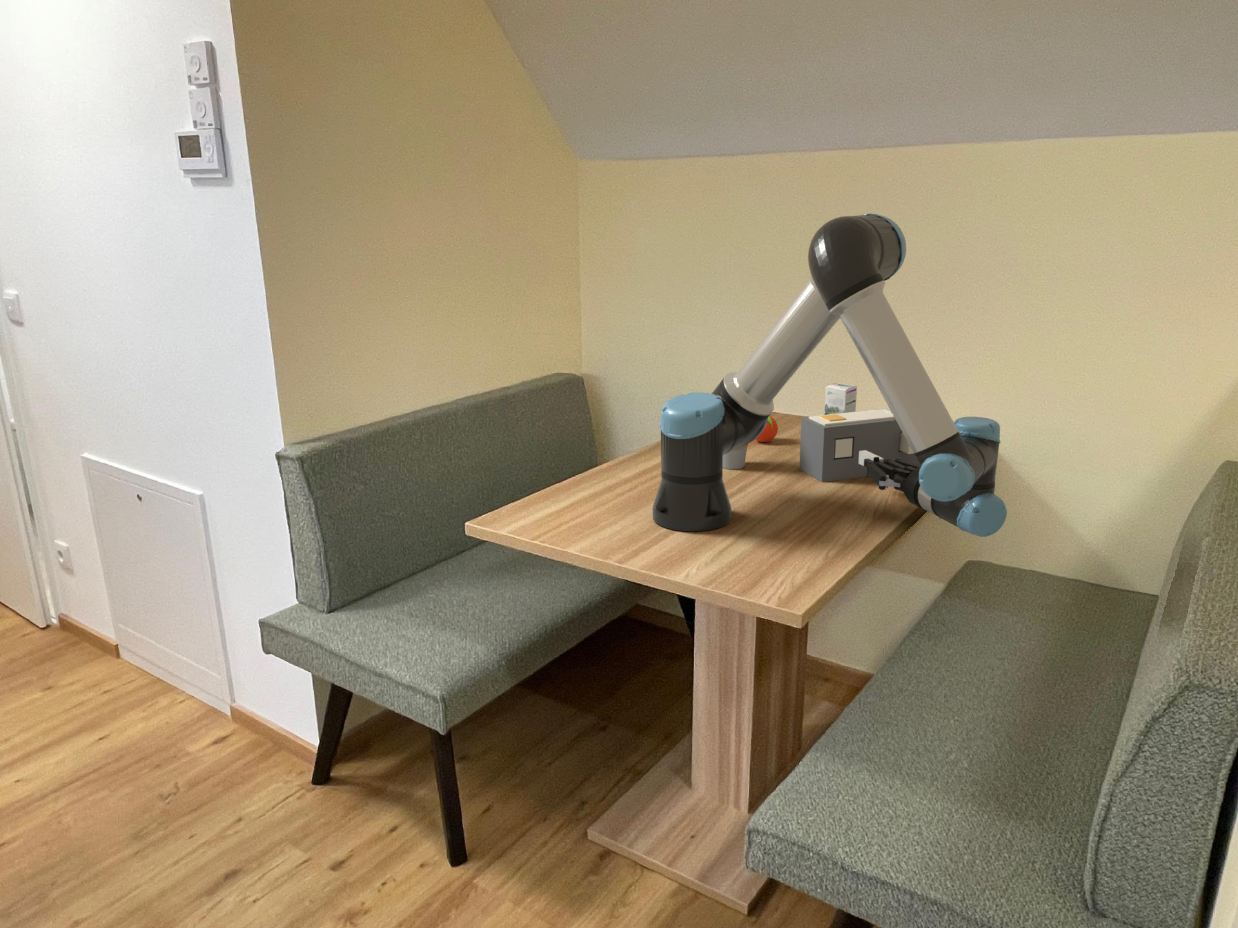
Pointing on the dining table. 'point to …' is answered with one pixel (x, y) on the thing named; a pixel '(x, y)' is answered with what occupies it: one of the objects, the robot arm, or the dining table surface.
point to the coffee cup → (735, 458)
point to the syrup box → (840, 398)
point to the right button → (904, 444)
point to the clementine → (768, 431)
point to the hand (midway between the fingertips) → (862, 456)
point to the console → (868, 433)
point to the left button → (843, 447)
